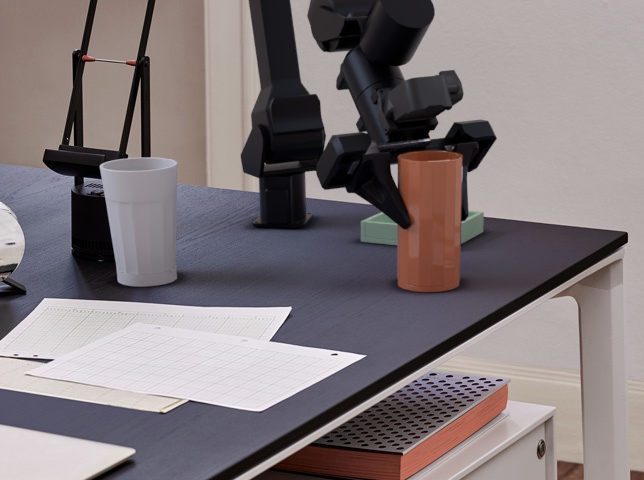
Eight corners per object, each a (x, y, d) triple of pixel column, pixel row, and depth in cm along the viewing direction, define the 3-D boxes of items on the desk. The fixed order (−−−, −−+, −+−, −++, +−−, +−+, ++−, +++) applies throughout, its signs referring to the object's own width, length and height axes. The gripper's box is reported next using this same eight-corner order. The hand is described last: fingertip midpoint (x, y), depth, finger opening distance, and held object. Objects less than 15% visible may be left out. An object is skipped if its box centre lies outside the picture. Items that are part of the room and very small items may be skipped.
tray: (360, 241, 158) (360, 221, 157) (398, 224, 166) (398, 204, 165) (449, 251, 153) (449, 229, 152) (483, 232, 161) (484, 211, 160)
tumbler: (401, 275, 143) (402, 150, 138) (462, 277, 142) (465, 150, 137) (393, 291, 138) (394, 161, 132) (456, 293, 137) (459, 162, 131)
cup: (148, 265, 149) (139, 154, 144) (200, 276, 145) (193, 162, 140) (94, 281, 144) (83, 166, 139) (146, 292, 139) (137, 174, 134)
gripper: (327, 49, 129) (384, 184, 125) (489, 37, 137) (549, 164, 133) (292, 123, 139) (345, 251, 135) (446, 108, 147) (500, 229, 143)
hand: (436, 222), depth 136 cm, fingers closed on tumbler, 6 cm apart
